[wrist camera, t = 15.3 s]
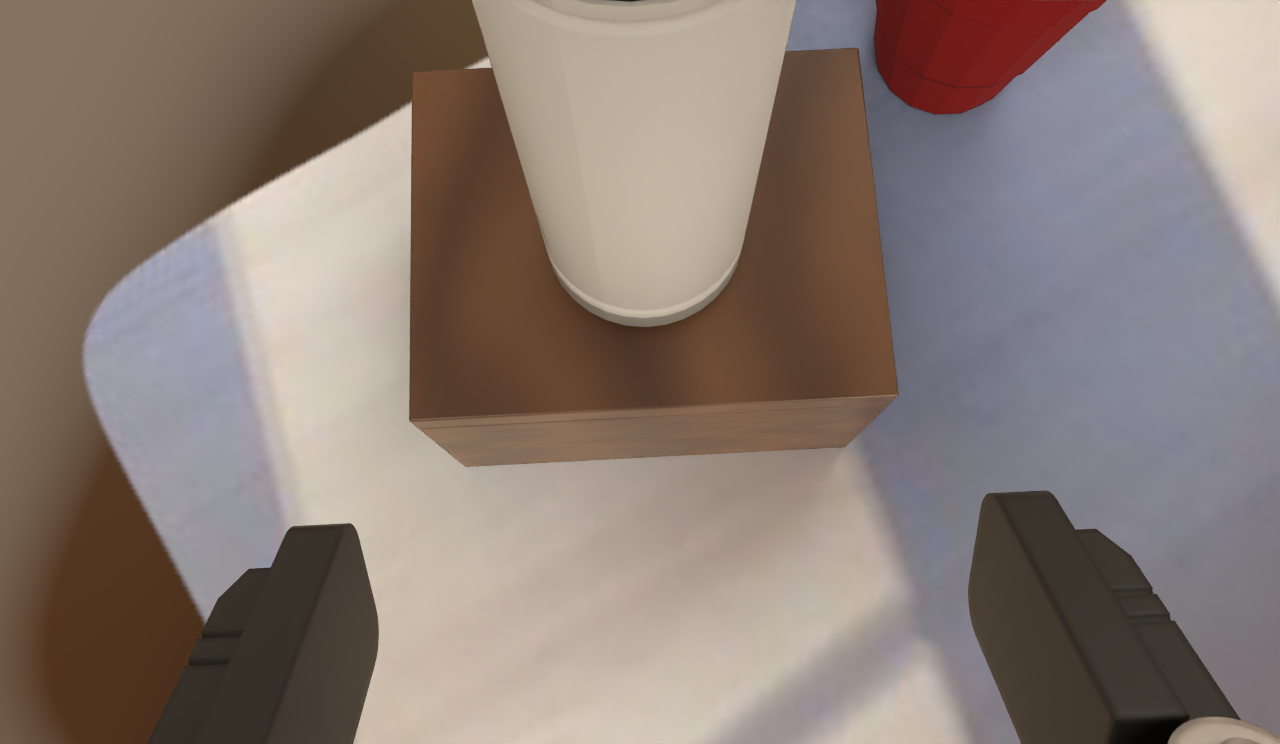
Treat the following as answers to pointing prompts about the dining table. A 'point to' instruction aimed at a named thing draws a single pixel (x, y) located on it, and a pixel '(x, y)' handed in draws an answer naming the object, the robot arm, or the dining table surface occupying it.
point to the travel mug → (639, 139)
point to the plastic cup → (965, 46)
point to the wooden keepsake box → (658, 355)
